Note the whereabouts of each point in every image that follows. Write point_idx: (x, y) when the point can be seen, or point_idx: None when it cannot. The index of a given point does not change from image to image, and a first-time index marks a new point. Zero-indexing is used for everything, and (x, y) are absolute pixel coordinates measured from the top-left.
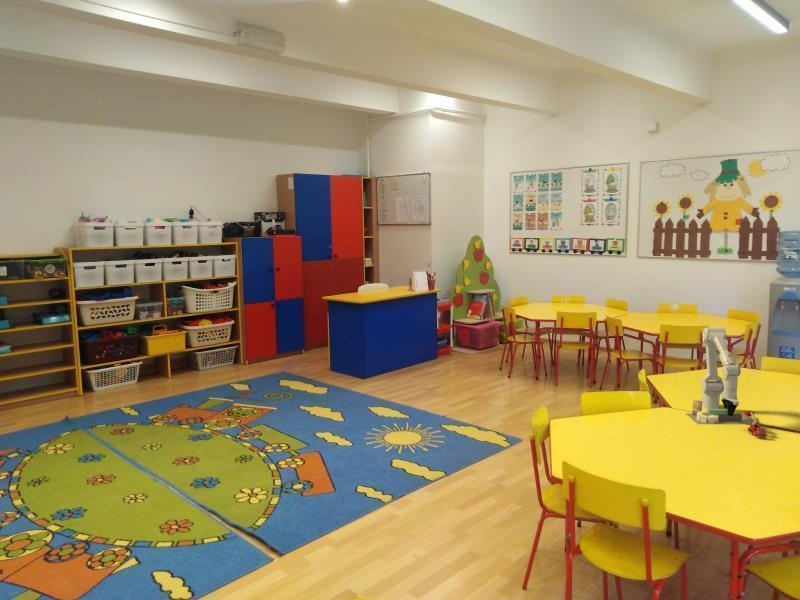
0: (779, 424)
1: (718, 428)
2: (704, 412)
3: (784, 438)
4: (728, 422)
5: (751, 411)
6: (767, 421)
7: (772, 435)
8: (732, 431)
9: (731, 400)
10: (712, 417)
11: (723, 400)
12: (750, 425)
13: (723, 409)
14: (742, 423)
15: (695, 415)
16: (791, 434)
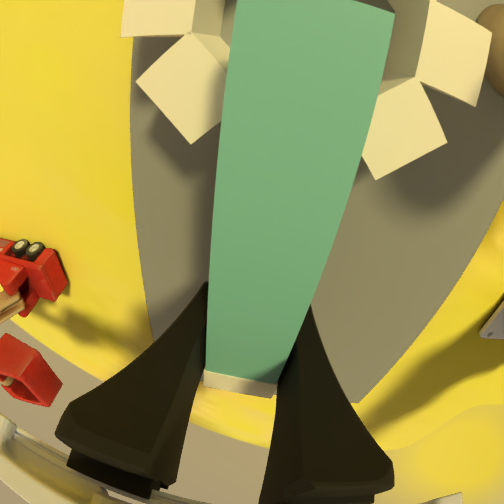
0: (205, 411)
1: (96, 54)
2: (425, 20)
3: (34, 325)
4: (187, 216)
5: (10, 391)
6: (249, 407)
7: (49, 315)
8: (41, 148)
9: (13, 479)
10: (125, 9)
11: (307, 487)
12: (7, 280)
13: (265, 317)
14: (165, 303)
15: (491, 6)
16: (88, 370)
